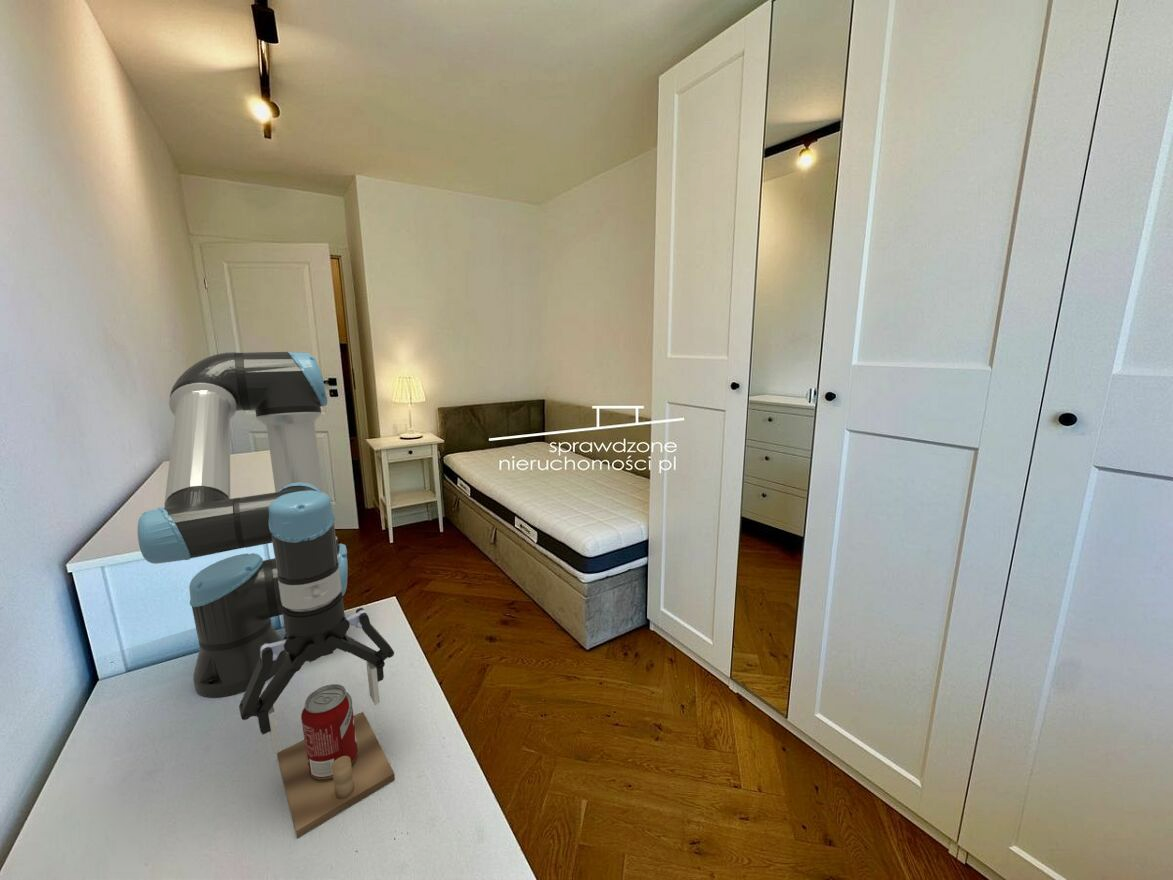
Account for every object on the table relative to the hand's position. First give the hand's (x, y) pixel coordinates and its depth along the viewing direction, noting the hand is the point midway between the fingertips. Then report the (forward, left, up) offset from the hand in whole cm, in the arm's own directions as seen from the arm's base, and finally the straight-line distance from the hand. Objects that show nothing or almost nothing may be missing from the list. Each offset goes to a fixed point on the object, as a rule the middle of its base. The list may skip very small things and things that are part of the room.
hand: (328, 721), depth 71 cm
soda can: (0, 0, -7) cm, 8 cm away
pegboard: (0, 0, -8) cm, 9 cm away
